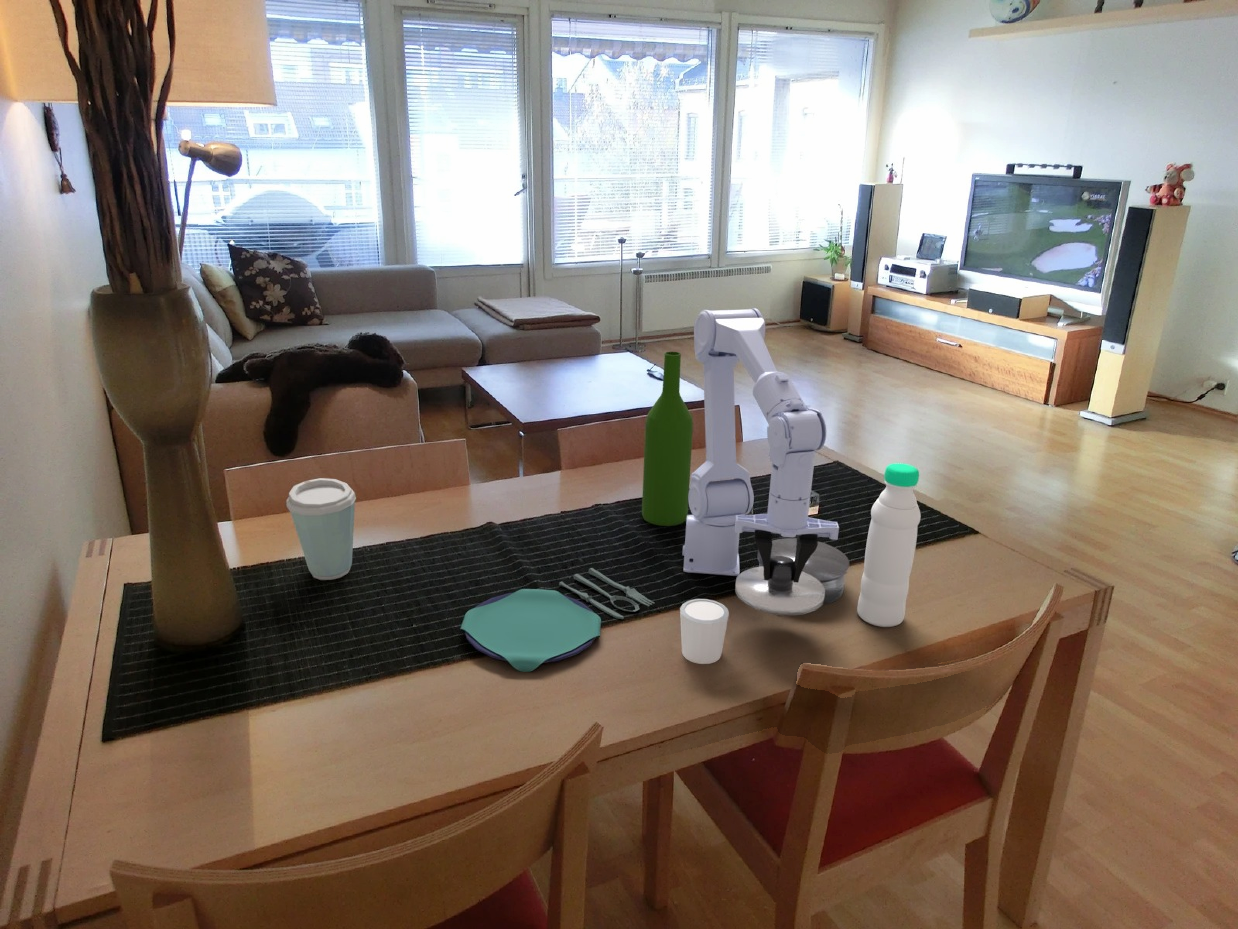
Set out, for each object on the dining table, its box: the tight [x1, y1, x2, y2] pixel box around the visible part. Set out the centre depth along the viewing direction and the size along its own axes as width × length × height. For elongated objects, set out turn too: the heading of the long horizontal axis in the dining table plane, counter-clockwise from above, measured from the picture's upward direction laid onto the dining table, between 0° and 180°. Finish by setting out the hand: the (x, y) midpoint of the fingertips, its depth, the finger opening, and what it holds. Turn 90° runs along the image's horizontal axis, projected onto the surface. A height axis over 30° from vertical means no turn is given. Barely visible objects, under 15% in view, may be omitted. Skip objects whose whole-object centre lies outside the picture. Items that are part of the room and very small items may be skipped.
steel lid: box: [734, 556, 825, 616], centre depth 126 cm, size 13×13×5 cm
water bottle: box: [856, 462, 922, 628], centre depth 129 cm, size 7×7×25 cm
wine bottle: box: [641, 351, 694, 527], centre depth 161 cm, size 9×9×32 cm
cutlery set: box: [459, 567, 656, 673], centre depth 130 cm, size 20×30×2 cm, turn 135°
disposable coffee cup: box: [285, 477, 357, 581], centre depth 139 cm, size 11×11×15 cm
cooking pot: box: [757, 537, 850, 606], centre depth 142 cm, size 15×15×5 cm
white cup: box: [679, 598, 730, 665], centre depth 121 cm, size 7×7×7 cm
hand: (780, 578), depth 126 cm, fingers closed on steel lid, 4 cm apart
